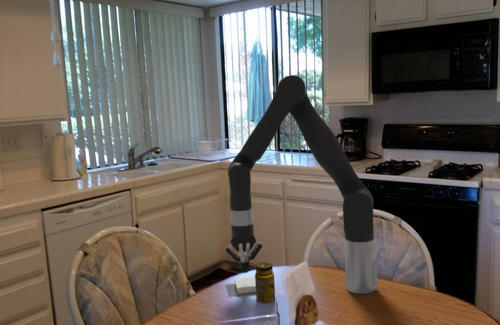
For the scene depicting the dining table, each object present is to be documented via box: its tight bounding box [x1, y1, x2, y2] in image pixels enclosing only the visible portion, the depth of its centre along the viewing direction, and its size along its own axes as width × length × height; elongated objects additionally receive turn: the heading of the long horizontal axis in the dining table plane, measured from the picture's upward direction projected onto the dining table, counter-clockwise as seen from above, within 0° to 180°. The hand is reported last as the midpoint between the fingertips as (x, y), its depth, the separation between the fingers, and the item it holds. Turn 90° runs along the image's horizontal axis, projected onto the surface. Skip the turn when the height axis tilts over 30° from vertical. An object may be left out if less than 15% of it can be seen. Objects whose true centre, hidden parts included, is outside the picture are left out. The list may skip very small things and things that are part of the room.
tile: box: [233, 275, 256, 294], centre depth 156 cm, size 2×8×8 cm
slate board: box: [225, 283, 256, 298], centre depth 156 cm, size 13×10×1 cm
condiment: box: [254, 262, 276, 304], centre depth 146 cm, size 7×8×12 cm
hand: (245, 271), depth 155 cm, fingers closed
